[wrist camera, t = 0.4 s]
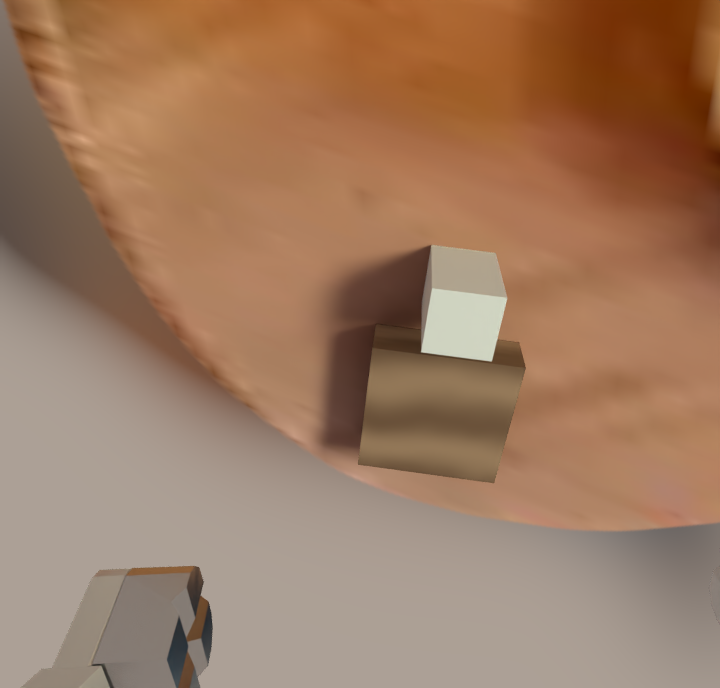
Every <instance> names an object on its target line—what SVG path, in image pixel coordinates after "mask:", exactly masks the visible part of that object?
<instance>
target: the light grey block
mask: <svg viewBox="0 0 720 688" xmlns="http://www.w3.org/2000/svg"><path fill="white" fill-rule="evenodd" d="M506 301H507V295H506V291H505V287H504V283H503V280H502V276H501V272H500V268H499V264H498V260H497V256H496V253H492V252H484V251H476V250H468V249H460V248H452V247H444V246H436V245H431V250H430V256H429V262H428V268H427V274H426V281H425V287H424V293H423V299H422V328H421V352H423V353H430V354H438V355H446V356H453V357H461V358H469V359H476V360H484V361H491V362H492V359H493V355H494V351H495V346H496V342H497V338H498V334H499V330H500V326H501V322H502V317H503V313H504V309H505V305H506Z"/></svg>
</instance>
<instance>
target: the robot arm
mask: <svg viewBox="0 0 720 688" xmlns="http://www.w3.org/2000/svg"><path fill="white" fill-rule="evenodd" d="M719 552H720V550H719ZM203 583H204V581H203V579H202V575H201V571H200V568H199V567H196V566H182V567H153V568H132V569H112V570H99V571H98V573H96V575H95V576H94V577H93V578H92V579H91V581H90V583H89V585H88V588H87V590H86V592H85V594H84V597H83V599H82V601H81V603H80V606H79V608H78V610H77V612H76V615H75V617H74V619H73V621H72V624H71V626H70V628H69V630H68V633H67V635H66V637H65V640H64V642H63V644H62V646H61V649H60V651H59V653H58V655H57V658H56V660H55V662H54V665H53V667H52V668H48V669H41V670H40V671H39V672H38V673H37V674H35V675H34V676H33V677H32V678H31V679H30V680H29V681H28V682H26V683H25V684H24V685H23V686H22V687H21V688H200V684H199V681H198V676H199V675H200V674H201V673H202V672H203V671H204V669H205V668H206V667H207V666H208V663H209V658H210V652H211V647H212V646H211V645H212V630H213V626H212V614H211V609H210V605H209V602H208V601H207V600H206V599H204V598H203V597H202V596H201V591H202V587H203ZM709 591H710V598H711V605H712V608H713V611H714V613H715V616H716V619H717V620H718V622H719V624H720V566H719V567H718V568H716V569H715V570H714V571H713V573H712V577H711V581H710V585H709Z"/></svg>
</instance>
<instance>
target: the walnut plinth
mask: <svg viewBox="0 0 720 688" xmlns="http://www.w3.org/2000/svg"><path fill="white" fill-rule="evenodd" d="M525 369H526V367H525V363H524V359H523V356H522V352H521V348H520V344H519V342H511V341H503V340H497V342H496V346H495V351H494V355H493V359H492V362H491V361H484V360H476V359H469V358H461V357H453V356H446V355H438V354H430V353H423V352H421V330H419V329H411V328H403V327H396V326H388V325H380V324H376V327H375V334H374V340H373V347H372V355H371V363H370V371H369V379H368V387H367V395H366V403H365V411H364V419H363V428H362V436H361V444H360V452H359V460H358V465H365V466H372V467H380V468H387V469H394V470H401V471H409V472H416V473H423V474H431V475H438V476H445V477H452V478H460V479H467V480H474V481H482V482H489V483H494V482H495V478H496V474H497V471H498V467H499V463H500V460H501V456H502V452H503V449H504V445H505V442H506V438H507V434H508V431H509V427H510V423H511V420H512V416H513V413H514V409H515V405H516V402H517V398H518V394H519V391H520V387H521V384H522V380H523V376H524V373H525Z"/></svg>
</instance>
